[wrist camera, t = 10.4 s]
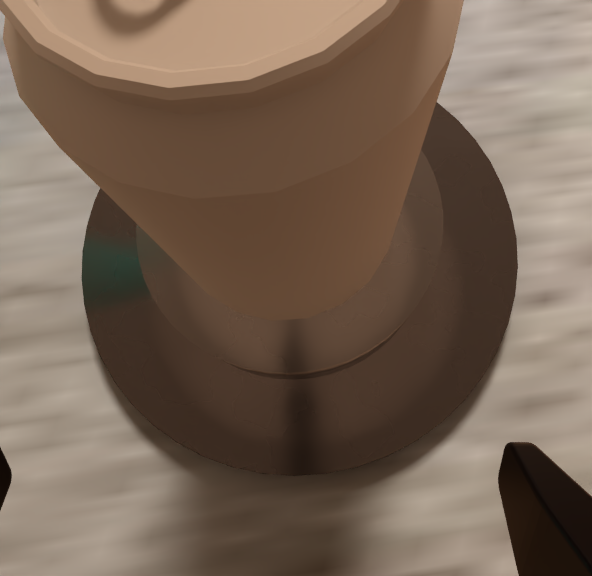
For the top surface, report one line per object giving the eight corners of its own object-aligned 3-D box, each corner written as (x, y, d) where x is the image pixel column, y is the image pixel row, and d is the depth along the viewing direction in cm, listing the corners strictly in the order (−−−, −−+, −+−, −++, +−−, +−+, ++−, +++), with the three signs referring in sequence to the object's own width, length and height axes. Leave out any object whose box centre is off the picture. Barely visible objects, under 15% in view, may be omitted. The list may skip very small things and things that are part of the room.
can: (434, 254, 17) (634, -72, 6) (245, 367, 17) (54, 257, 5) (321, 94, 19) (303, -393, 8) (147, 192, 19) (-152, -172, 7)
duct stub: (601, 321, 20) (663, 299, 17) (209, 565, 19) (178, 601, 15) (360, 11, 25) (365, -64, 21) (31, 193, 24) (-28, 149, 20)
